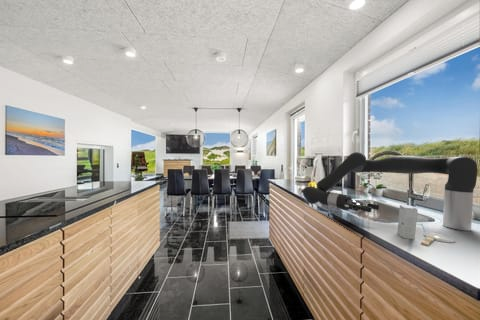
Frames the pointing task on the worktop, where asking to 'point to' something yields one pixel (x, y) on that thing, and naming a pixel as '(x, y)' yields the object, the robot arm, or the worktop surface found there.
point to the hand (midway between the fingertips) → (375, 208)
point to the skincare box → (407, 221)
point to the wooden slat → (427, 241)
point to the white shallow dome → (440, 237)
